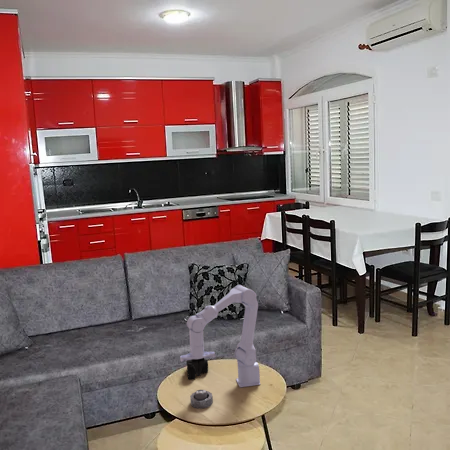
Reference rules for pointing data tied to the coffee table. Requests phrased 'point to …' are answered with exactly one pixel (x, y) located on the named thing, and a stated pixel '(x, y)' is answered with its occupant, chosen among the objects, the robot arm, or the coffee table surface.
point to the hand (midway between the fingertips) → (198, 375)
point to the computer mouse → (201, 395)
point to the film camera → (192, 371)
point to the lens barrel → (201, 401)
